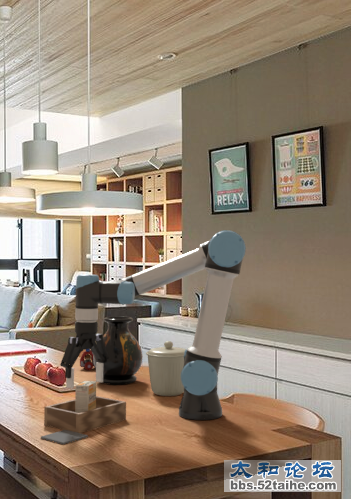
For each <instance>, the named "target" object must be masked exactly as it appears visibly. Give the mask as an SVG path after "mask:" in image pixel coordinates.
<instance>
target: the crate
mask: <svg viewBox="0 0 352 499" xmlns="http://www.w3.org/2000/svg"><path fill="white" fill-rule="evenodd" d="M43 409H44V412H43V414H44V415H43V417H44V418H43V419H44V420H43V421H44V422H43V423H44V424H43V425H44V426H46V427H47V426H48V427H49V428H54V429H59V430H61V431H62V430H69V431H73V432H77V433H81V434H83V433H85V431H86V432H88V431H92V430H96V429H99V428H103V427H106V426H109V425H112V424H115V423H119V422H122V421H126V420H127V401H125V400H119V399H113V398H108V397H102V396H99V395H98V396H97V395H96V409H92V410H88V411H85V412H81V413H77V412H75V399H72V400H66V401H62V402H58V403H55V404H50V405H45V406H44V408H43Z"/></svg>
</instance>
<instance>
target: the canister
mask: <svg viewBox="0 0 352 499" xmlns="http://www.w3.org/2000/svg"><path fill="white" fill-rule="evenodd" d="M186 349H187V348H184V347H175V346H174V343H173V342H172V341H170V340H166V341H165V342H164V343H163V346H159V347H154V348H151V349H149V350H148V351H146V352H145V355H146V356H147V362H148V363H147V364H148V373H149V380H150V388H151V391H152V392H153V394H155V395H157V396H161V397H173V396H174V397H175V396H179V395H183V394H184V386H183V384H182V381H181V371H182V369H183V366H184V352H185V350H186Z"/></svg>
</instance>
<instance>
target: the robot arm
mask: <svg viewBox="0 0 352 499" xmlns="http://www.w3.org/2000/svg"><path fill="white" fill-rule="evenodd" d="M246 249H247V248H246V243H245V240H244V239H243V237H242V236H241V235H240V234H239V233H237V232H236V231H233V230H227V229H225V230H220V231H218V232H216V233H215V234H214V235H213V236H212V237H211V238H210V239H209V240H208V241H205V242H203V243H200V244H199V246H198V247H197V248H196V249H193V250H191V251H189V252H186V253H183V254H181V255H178V256H176V257H174V258H170V259H169V260H167V261H164V262H161V263H159V264H156V265H154V266H151V267H148V268H146V269H143V270H141V271H140V272H136V273H134V274H131V275H129V276H126V277H124V278H121V279H118V280H116V281H115V280H109V281H108V280H107V281H106V280H100V277H99V275H98V274H78V275H77V276H76V279H75V280H76V283H75V311H74V312H75V314H74V315H75V318H74V319H75V320H76V321H75V322H74V333H75V335H76V336H75V337H74V336H69V337H68V339H67V346H66V348H65V351H64V354H63V356H62V358H61V361H60V367H63V368H64V369H65V370H64V371H65V372H64V373H65V375H64V376H65V380H66V382H65V387H66V388H67V389H71V390H72V389H74V388H75V387H74V386H75V368H74V365H75V363H76V361H77V359H78V358H79V356H80V355H81V353H83V352H84V350H85V351H86V349H91V351H92V352H93V354H94V355H95V357H96V359H97V360H98V362H96V368H95V381H96V383H102V382H103V372H104V363H107V360H109V356H108V353H107V350H106V347H105V344H104V341H103V336H104V334H103V333H98V329H99V328H98V327H99V323H98V320H99V304H105V305H107V304H109V305H113V304H114V305H132V304H134V302H135V298H136V297H139V296H141V295H143V294H145V293H148V292H151V291H153V290H155V289H158V288H161V287H163V286H166V285H168V284H171V283H173V282H175V281H178V280H181V279H184V278H186V277H188V276H191V275H194V274H197V273H198V272H200V271H203V270H205V271H206V272H207V276H206V281H205V287H204V290H203V295H202V299H201V300H202V301H201V304H200V309H199V313H198V314H199V315H198V318H197V324H196V329H195V333H194V337H193V338H194V339H193V342H192V344H191V345H190V346H189V347H188V348H185V349H186V350H185V352H184V366H183V369H182V371H181V381H182V384H183V386H184V392H183V393H182V395H183V396H182V398H181V400H180V404H179V407H178V415H179V417H181V418H184V419H189V420H196V421H207V420H209V421H210V420H214V419H219V418H221V417H222V416H223V407H222V404H221V401H220V398H219V394H218V381H219V378H218V375H219V372H220V367H221V361H222V354H221V353H220V351H219V349H220V344H221V340H222V339H221V338H222V334H223V330H224V326H225V321H226V316H227V312H228V307H229V302H230V298H231V293H232V289H233V288H232V287H233V284H234V280H235V279H236V278H237V277H239V276H240V273H241V268H242V263H243V260H244V257H245V255H246ZM102 384H103V383H102Z"/></svg>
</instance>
